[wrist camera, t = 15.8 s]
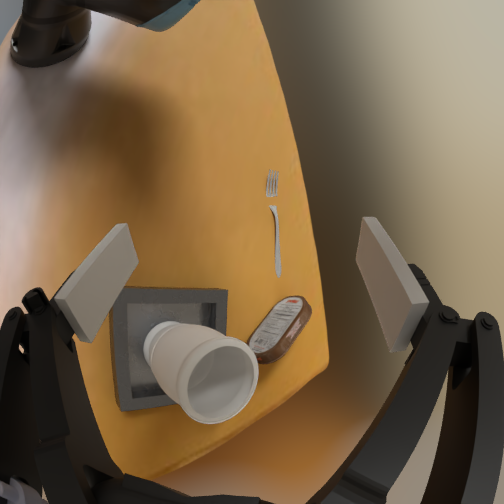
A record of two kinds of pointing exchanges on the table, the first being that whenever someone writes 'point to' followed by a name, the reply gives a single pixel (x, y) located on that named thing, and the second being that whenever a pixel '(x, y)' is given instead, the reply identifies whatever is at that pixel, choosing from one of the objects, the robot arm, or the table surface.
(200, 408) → the jar
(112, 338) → the dark grey square tray
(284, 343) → the tin
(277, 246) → the fork
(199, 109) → the table surface
